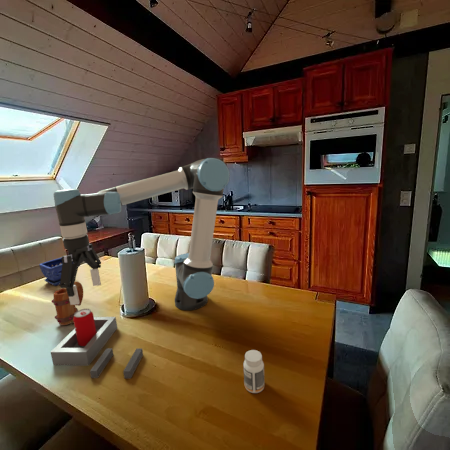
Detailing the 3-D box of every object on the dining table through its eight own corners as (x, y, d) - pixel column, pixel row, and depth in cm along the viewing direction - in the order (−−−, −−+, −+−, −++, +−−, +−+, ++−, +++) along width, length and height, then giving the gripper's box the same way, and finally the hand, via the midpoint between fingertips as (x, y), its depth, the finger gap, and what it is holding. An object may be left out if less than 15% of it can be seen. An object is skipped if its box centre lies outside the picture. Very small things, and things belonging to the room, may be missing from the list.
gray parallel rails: (143, 354, 88) (142, 348, 88) (130, 378, 78) (129, 371, 78) (107, 354, 89) (106, 348, 89) (91, 378, 79) (89, 370, 79)
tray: (117, 328, 104) (115, 316, 103) (88, 365, 85) (85, 351, 83) (88, 328, 105) (86, 316, 104) (53, 365, 85) (50, 351, 84)
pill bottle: (262, 377, 77) (262, 347, 75) (266, 393, 71) (265, 362, 69) (243, 378, 77) (242, 348, 74) (245, 395, 71) (244, 363, 69)
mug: (68, 329, 105) (61, 295, 101) (51, 327, 106) (43, 294, 103) (93, 309, 119) (87, 279, 115) (77, 308, 120) (71, 278, 117)
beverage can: (92, 334, 99) (87, 305, 96) (100, 341, 95) (95, 311, 92) (75, 343, 94) (69, 313, 92) (82, 350, 90) (76, 319, 88)
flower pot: (77, 279, 154) (74, 260, 151) (53, 288, 143) (49, 267, 140) (65, 275, 161) (62, 256, 158) (42, 283, 150) (37, 264, 147)
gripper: (85, 227, 100) (95, 279, 105) (36, 248, 75) (52, 314, 80) (104, 226, 99) (113, 278, 104) (61, 247, 75) (75, 313, 80)
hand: (86, 294), depth 92 cm, fingers open, 13 cm apart
